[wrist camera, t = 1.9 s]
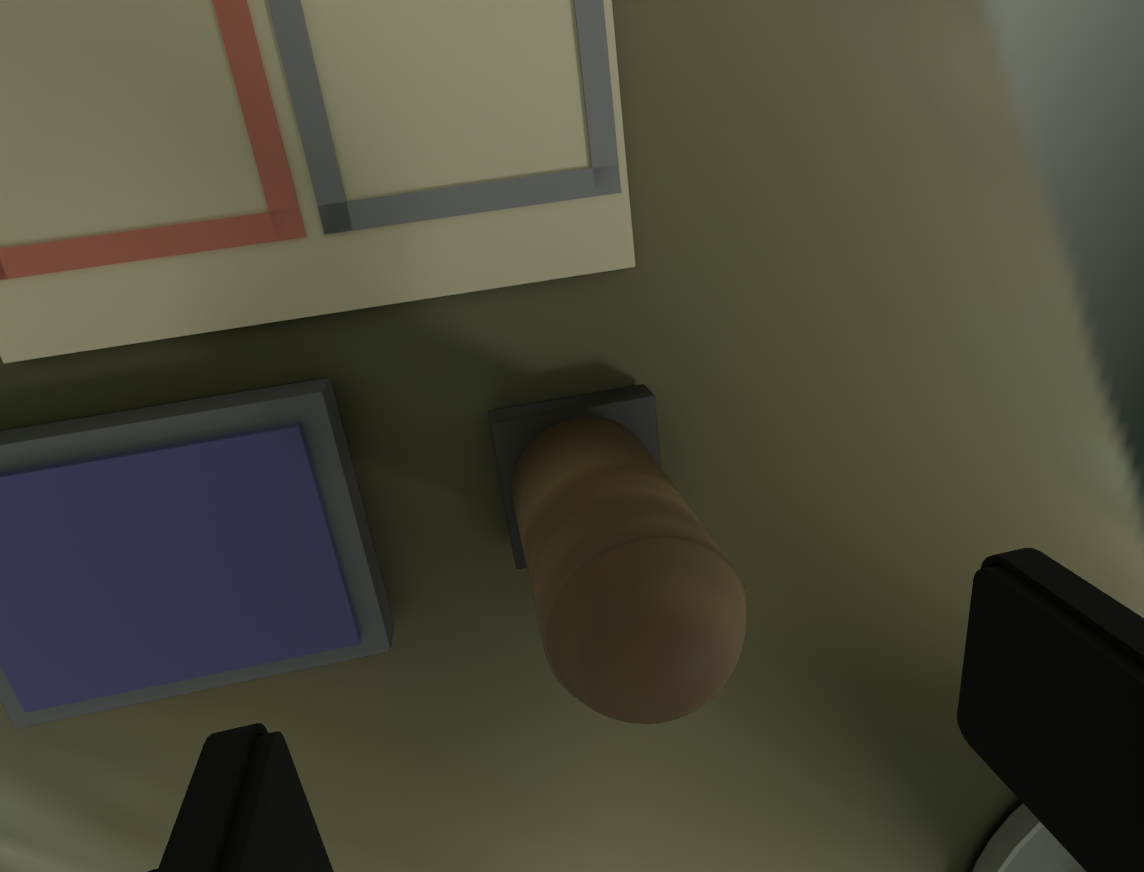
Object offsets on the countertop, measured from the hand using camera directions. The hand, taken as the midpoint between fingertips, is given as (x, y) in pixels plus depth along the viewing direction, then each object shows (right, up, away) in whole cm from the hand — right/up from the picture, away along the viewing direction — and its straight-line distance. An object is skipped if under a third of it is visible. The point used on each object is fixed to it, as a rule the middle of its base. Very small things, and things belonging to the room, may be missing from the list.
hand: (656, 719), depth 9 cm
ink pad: (-11, +1, +8) cm, 14 cm away
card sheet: (-7, +11, +5) cm, 14 cm away
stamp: (-1, +3, +9) cm, 10 cm away
